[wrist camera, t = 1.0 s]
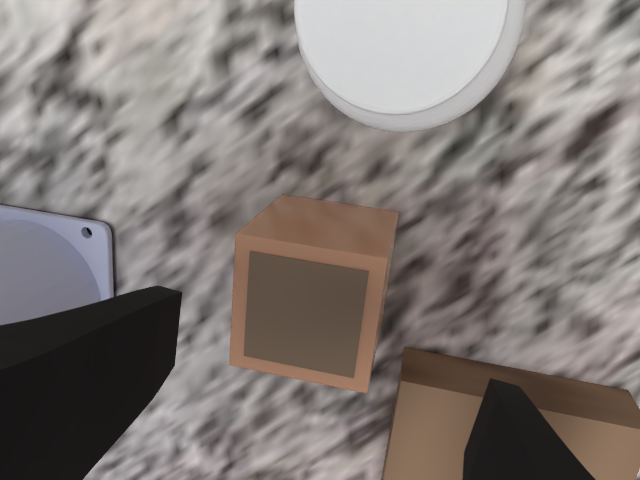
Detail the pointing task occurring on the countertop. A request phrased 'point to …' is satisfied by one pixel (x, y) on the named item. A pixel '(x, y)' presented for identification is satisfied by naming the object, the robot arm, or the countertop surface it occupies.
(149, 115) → the countertop surface
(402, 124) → the supplement bottle
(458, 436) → the walnut block
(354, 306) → the terracotta pot
